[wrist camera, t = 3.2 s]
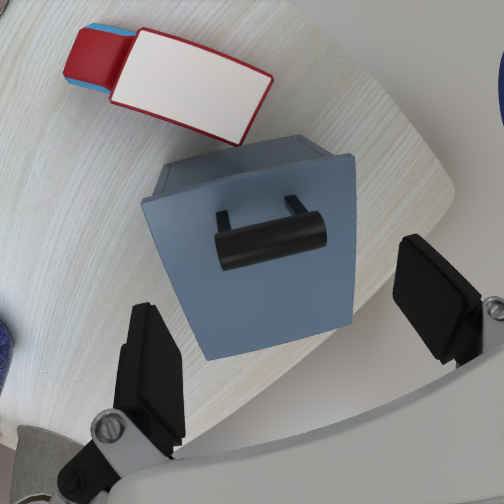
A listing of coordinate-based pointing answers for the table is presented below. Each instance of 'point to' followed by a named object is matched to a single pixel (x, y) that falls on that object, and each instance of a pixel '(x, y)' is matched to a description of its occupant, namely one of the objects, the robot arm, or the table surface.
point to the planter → (5, 354)
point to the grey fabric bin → (39, 464)
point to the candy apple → (2, 5)
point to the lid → (261, 253)
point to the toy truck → (170, 79)
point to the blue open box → (237, 161)
